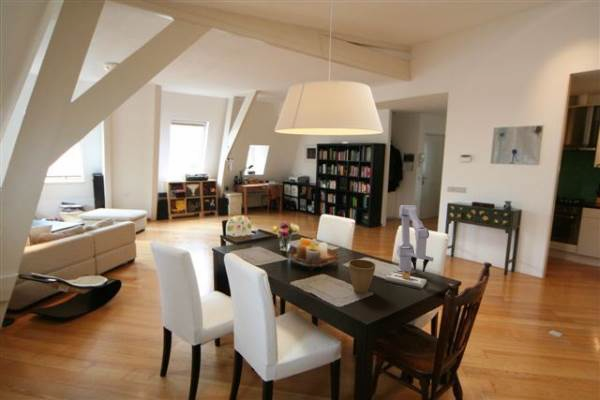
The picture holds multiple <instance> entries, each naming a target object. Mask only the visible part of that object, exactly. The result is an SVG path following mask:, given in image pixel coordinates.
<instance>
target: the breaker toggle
mask: <svg viewBox="0 0 600 400" xmlns="http://www.w3.org/2000/svg"><path fill="white" fill-rule="evenodd" d="M410 275H411V271H410V272H409V270H404V271H403V272H402V278H406V279H409V278H410Z"/></svg>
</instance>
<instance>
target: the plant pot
mask: <svg viewBox="0 0 600 400" xmlns="http://www.w3.org/2000/svg"><path fill="white" fill-rule="evenodd" d="M348 269H349V276H350V282H351V285H352V288H353V291H354V292H356V293H359V294H366V293H367V292H368V290H369V288H370V285H372V280H373V277H374V274H375V270H376V263H375V262H373V261H370V260H367V259H351V260H349V262H348Z"/></svg>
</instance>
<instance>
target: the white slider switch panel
mask: <svg viewBox="0 0 600 400" xmlns="http://www.w3.org/2000/svg"><path fill="white" fill-rule="evenodd" d="M394 272H395V271H390V272H389V273H388V274H386V275H385V279H388V280H393V281H397V282H401V283H405V284H410V285H414V286H418V287H421V289H423V288H424V286H425V285H426V284H427V281H426V280H425V279H426V278H425V279H421V278H422V277H421V278H416V277H417V276H416V277H412V276H413V275H411V276H410V278H409V279H406V278H402V274H398V273H399V272H398V273H394Z"/></svg>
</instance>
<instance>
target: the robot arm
mask: <svg viewBox="0 0 600 400" xmlns="http://www.w3.org/2000/svg"><path fill="white" fill-rule="evenodd" d="M417 212H418V208H417V205H415V204H414V205H412V204H411V205H410V204H409V205H406V204H401V205H400V206H399V208H398V217H399V218H401V243H399V244H398V245H397V250H396V253H397V256H398V258H399V259H398V260H399V263H398V267H397V269H396V272H401V271H402V272H403V271H404V270H409V272H410V273H411V271H412V270H413V271H416V270H417V260H418V259H419V260H423V261H422V273H425V271H426V267H427V265H428V264H429V262H432V263H433V262H434V257H431V256H429V255H427V253H426V252H427V244H428V243H427V241H428V240H427V239H429V237H430V232H429V228H426V227H425V226H424V224H423V222H422V220H421V219H419V217H418V213H417ZM410 221H412V224H411V226H412V227H413V229H414V236H415V248H414V245H413V244H411V242H410V241H411V237H410V236H411V235H410ZM412 266H413V268H412Z"/></svg>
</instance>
